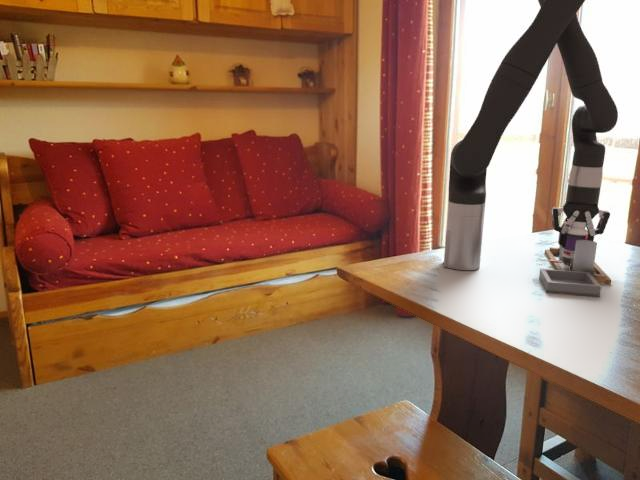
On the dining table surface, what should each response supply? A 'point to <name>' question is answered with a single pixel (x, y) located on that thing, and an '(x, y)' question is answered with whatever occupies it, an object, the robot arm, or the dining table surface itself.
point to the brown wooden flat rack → (599, 275)
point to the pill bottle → (574, 238)
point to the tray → (569, 282)
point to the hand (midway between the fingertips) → (574, 247)
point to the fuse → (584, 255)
